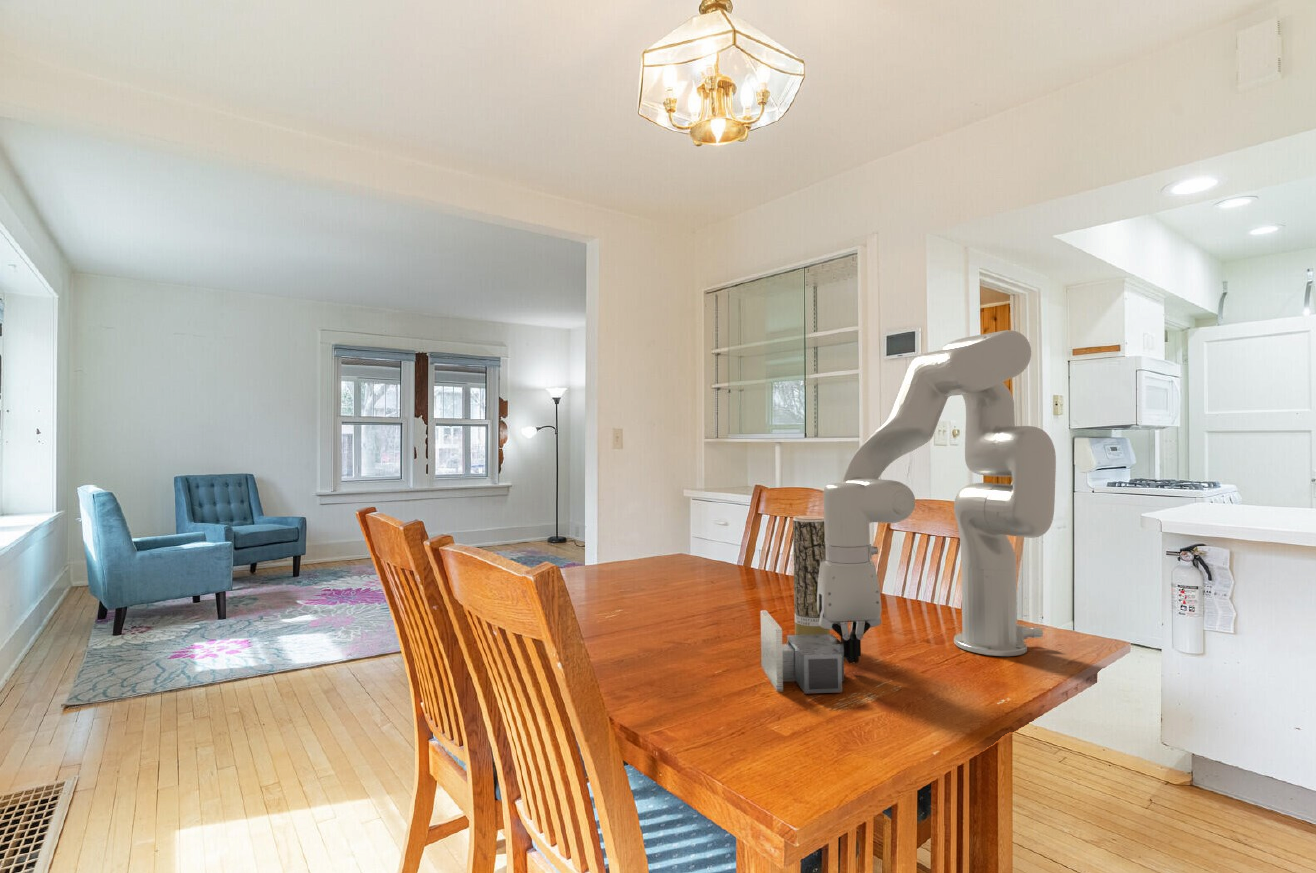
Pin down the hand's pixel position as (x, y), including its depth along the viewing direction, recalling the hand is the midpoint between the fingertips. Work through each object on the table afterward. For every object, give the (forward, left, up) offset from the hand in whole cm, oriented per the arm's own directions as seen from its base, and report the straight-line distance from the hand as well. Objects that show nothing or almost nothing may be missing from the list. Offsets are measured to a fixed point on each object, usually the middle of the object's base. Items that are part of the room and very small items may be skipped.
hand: (851, 660), depth 113 cm
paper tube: (+2, -18, -3) cm, 18 cm away
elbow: (+7, +4, -2) cm, 8 cm away
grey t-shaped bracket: (+9, +1, -2) cm, 9 cm away
